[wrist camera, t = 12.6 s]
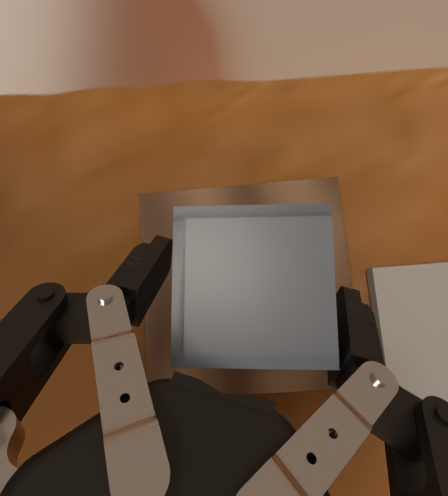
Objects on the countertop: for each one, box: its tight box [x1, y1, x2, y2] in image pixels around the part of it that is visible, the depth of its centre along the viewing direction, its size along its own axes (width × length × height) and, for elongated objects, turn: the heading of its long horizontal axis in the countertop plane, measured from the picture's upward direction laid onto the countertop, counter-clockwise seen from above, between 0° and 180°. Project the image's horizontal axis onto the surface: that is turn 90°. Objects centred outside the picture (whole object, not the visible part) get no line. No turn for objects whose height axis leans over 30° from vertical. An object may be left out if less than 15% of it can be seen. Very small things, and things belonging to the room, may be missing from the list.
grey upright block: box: [170, 203, 340, 370], centre depth 16 cm, size 6×6×9 cm
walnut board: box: [140, 177, 352, 395], centre depth 21 cm, size 14×14×1 cm
